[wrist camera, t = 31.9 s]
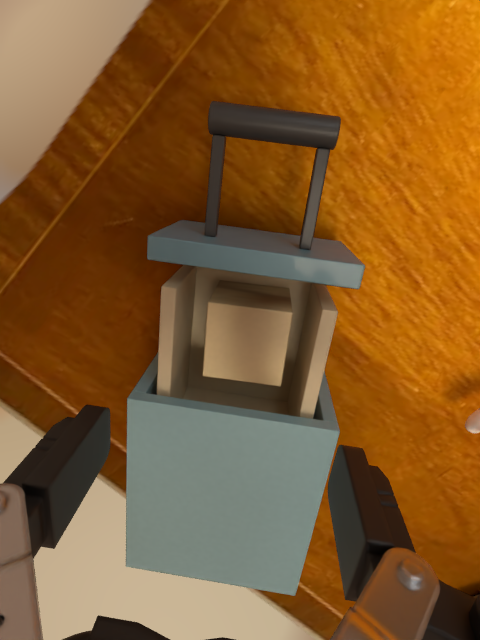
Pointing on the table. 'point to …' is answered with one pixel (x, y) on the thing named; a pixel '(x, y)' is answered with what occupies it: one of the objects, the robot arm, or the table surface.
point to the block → (247, 332)
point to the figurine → (473, 422)
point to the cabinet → (224, 487)
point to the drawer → (253, 272)
